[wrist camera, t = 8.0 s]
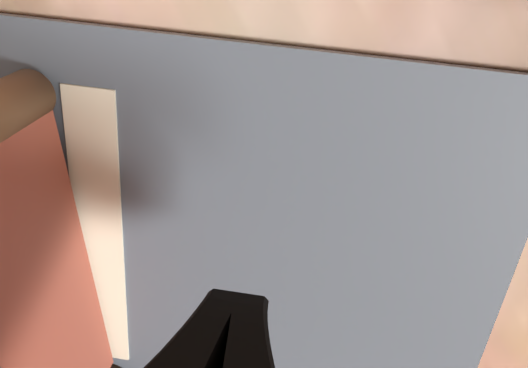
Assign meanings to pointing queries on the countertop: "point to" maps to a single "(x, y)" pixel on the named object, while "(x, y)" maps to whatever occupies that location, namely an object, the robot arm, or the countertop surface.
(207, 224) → the card
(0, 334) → the fence gate
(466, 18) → the countertop surface
